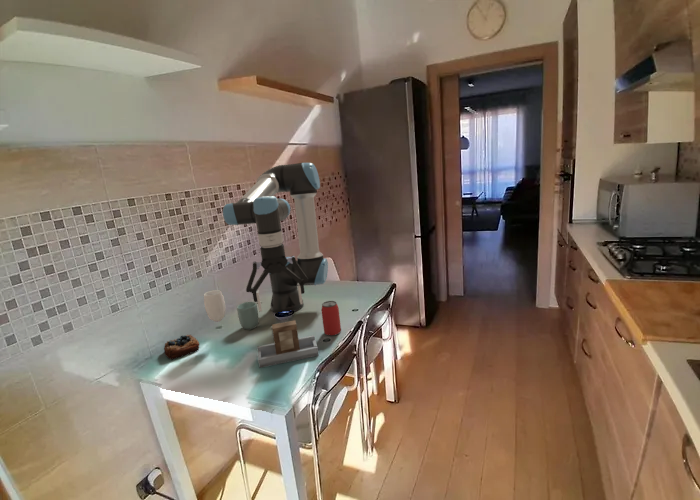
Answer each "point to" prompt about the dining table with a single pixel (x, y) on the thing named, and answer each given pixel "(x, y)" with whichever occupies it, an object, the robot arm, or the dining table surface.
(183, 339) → the pastry
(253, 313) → the cup
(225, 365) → the dining table surface
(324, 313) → the beer can
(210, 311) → the cup
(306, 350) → the grey trough
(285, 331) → the frame
